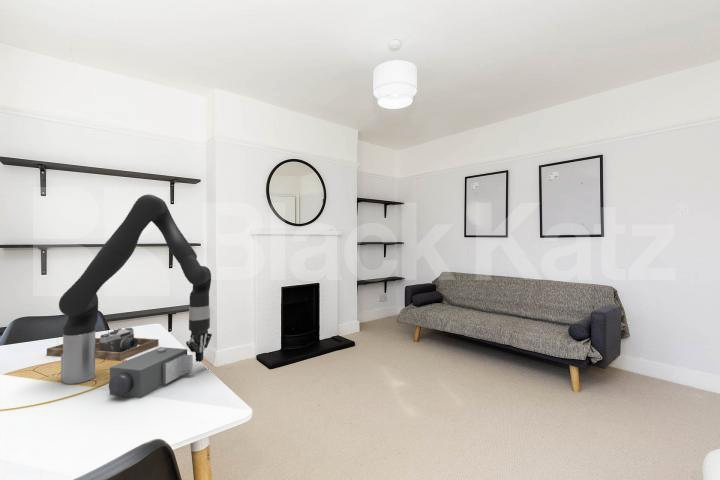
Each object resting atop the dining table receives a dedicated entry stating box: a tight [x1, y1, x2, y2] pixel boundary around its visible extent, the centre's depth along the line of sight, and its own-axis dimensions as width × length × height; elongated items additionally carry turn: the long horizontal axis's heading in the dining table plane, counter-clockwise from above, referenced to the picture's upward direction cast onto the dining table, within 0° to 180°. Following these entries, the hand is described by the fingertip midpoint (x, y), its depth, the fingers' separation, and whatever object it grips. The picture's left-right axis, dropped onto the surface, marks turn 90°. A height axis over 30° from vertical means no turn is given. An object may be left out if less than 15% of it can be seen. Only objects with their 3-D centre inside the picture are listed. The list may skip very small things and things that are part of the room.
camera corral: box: [95, 337, 160, 361], centre depth 159 cm, size 15×21×3 cm
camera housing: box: [108, 346, 188, 399], centre depth 123 cm, size 12×25×10 cm, turn 168°
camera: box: [99, 326, 139, 353], centre depth 159 cm, size 16×10×10 cm, turn 168°
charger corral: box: [46, 337, 100, 358], centre depth 160 cm, size 15×18×3 cm
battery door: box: [163, 354, 194, 385], centre depth 126 cm, size 4×10×7 cm, turn 168°
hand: (199, 361), depth 136 cm, fingers closed
